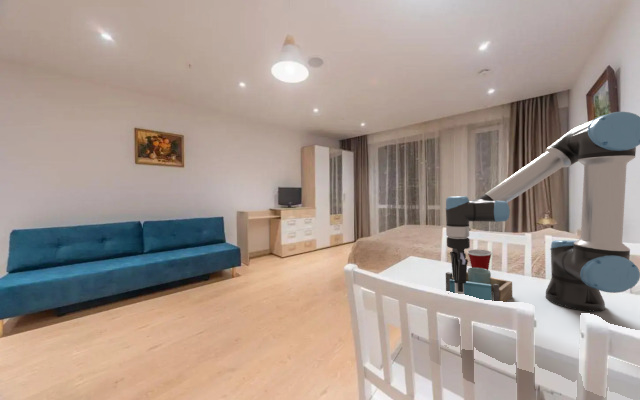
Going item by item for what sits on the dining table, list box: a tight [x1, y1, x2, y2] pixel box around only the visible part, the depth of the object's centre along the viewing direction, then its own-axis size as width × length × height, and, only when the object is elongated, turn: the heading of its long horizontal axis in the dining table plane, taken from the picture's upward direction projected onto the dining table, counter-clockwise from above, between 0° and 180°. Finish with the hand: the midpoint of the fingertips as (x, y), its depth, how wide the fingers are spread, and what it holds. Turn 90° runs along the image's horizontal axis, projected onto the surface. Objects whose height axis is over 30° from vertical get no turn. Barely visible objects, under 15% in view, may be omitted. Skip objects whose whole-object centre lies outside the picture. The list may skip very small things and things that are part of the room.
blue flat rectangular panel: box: [450, 279, 492, 300], centre depth 93 cm, size 14×1×7 cm, turn 60°
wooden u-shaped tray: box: [445, 271, 513, 303], centre depth 99 cm, size 19×15×8 cm
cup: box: [467, 267, 492, 284], centre depth 99 cm, size 8×8×10 cm
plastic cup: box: [466, 248, 493, 270], centre depth 122 cm, size 11×11×12 cm
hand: (459, 299), depth 92 cm, fingers closed
